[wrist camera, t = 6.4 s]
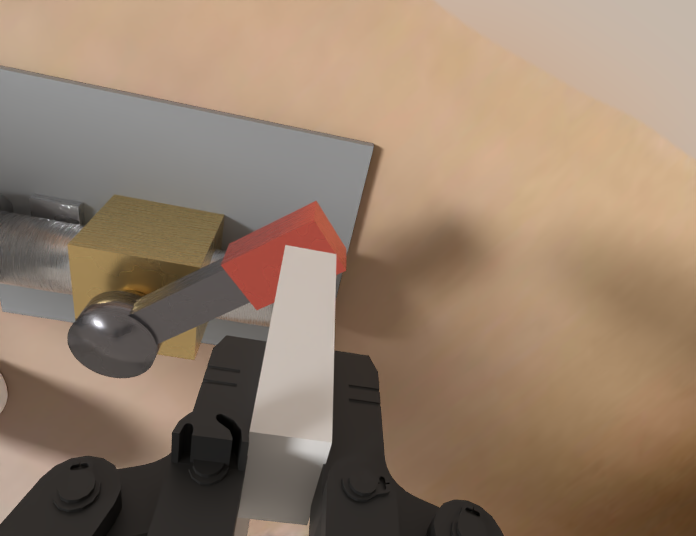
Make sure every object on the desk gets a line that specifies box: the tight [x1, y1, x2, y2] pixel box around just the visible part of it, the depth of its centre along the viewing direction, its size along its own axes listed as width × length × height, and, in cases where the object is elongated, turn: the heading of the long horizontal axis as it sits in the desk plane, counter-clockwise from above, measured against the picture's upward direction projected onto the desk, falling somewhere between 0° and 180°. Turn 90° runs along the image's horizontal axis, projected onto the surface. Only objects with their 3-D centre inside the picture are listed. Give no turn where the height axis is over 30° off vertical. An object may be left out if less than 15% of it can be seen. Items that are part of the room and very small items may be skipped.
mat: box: [0, 66, 374, 345], centre depth 34 cm, size 24×18×1 cm
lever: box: [68, 201, 346, 378], centre depth 25 cm, size 15×4×2 cm, turn 118°
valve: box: [0, 193, 337, 360], centre depth 31 cm, size 22×7×8 cm, turn 78°
